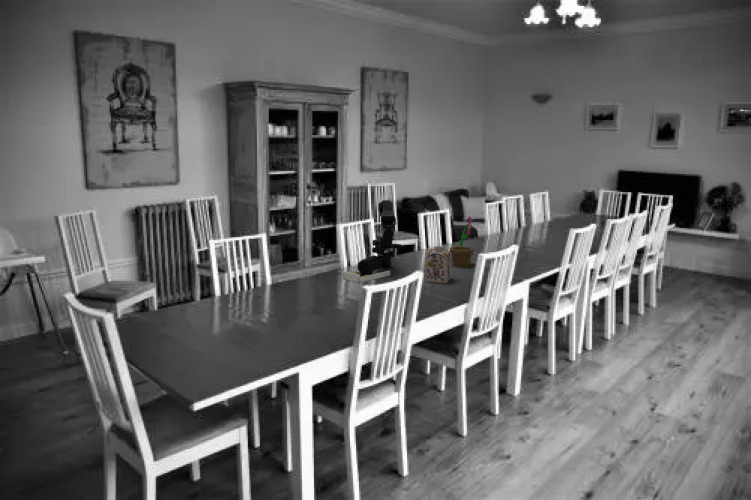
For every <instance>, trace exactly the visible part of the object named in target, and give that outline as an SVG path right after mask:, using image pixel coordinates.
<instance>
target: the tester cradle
mask: <svg viewBox="0 0 751 500" xmlns="http://www.w3.org/2000/svg"><path fill="white" fill-rule="evenodd" d="M376 271H377V270H375V271H373V274H372V275H366V276H362V277H360V275H361V273H360V272H359V270H350V269H349V270H348V271H345V270H344V271H342V280H346V281H350V282H353V283H357V284H360V283H366V282H368V281H373V280H377V279H381V278H384V277H385V278H386V277H390V276H391V270H386V271H383V272H382V271H381V272H378V273H376Z"/></svg>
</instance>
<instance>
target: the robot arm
mask: <svg viewBox="0 0 751 500" xmlns="http://www.w3.org/2000/svg"><path fill="white" fill-rule="evenodd" d="M393 204H394V203H393V202H391V200H390V199H383V200H381V201H380V202H378V204H377V205H378V206H377V207H378V208H377V212H378V214H379V217H380V227H381V235H382V236H381V237H380V239H379V240H378V239H373V240H372V243H371V244H372V246H373V247H372V248H371V252H372V253H374V254H378V255H377V256H380V258H381V259H382V266H381V267H380V269H381V268H382V269H391V268H394V266H393V265H392V258H394V257H395V253H396V251H395V249H396V250H397V251H400V250H403V246H402V244H401V243H393V241H394V240H395V238H394V236H395V232H394V228H396V226H397V217H396V215H394V214H395V213H394V212H393V209H394V207H393Z"/></svg>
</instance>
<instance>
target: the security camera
mask: <svg viewBox="0 0 751 500" xmlns="http://www.w3.org/2000/svg"><path fill="white" fill-rule="evenodd" d="M381 266H382V259H381V258H380V256H378V255H371V256H369V257H366V258H363V259H360V261H359V262H357V271H359V272H360V273H361V275H360V277H362V276H366V275H372V274H374V272H373V271H375V270H376V271H378V270H379V269H381Z"/></svg>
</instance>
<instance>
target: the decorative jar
mask: <svg viewBox="0 0 751 500" xmlns="http://www.w3.org/2000/svg"><path fill="white" fill-rule="evenodd" d="M451 265H452V255H451V253H450V250H448V249H446V248H445V249H444V246H440V245H439V246H434V248H433V249H428V250H427V252H426V256H425V266H424V267H425V268H424V282H426V283H436V284H447V283H448V281H449V280H450V279H451Z"/></svg>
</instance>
